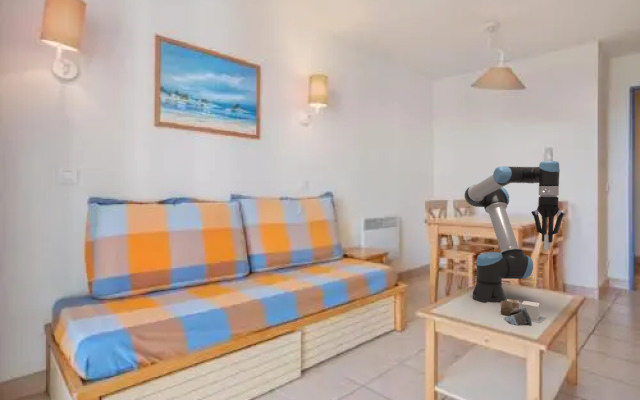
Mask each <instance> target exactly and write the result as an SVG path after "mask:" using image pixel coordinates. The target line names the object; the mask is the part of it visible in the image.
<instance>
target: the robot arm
mask: <svg viewBox="0 0 640 400" xmlns="http://www.w3.org/2000/svg"><path fill="white" fill-rule="evenodd" d="M560 171H561V170H560V163H559V161H558V160H543V161H540V162H539V165H538V166H505V165H503V166H497V167H496V168H495V169H494V170H493V174H492V175H490V176H488V177H487V178H485V179H483V180H482V181H480V182H478V183H476V184H472V185H470V186H469V187H468V188H466V189H465V191H464V199H465V201H466V202H467V204H469V206H472V207H477V208H484V212H485V213H487V214H489V219H490V221H491V224H492V228H493V231H494V234H495V236H496V240H497V243H498V247H499V250H500V252H495V251H494V252H493V251H492V252H491V251H490V252H483V253H479V254H478V255H477V258H476V263H475V264H476V282H475V283H476V284H474V285H475V286H474V288H473V290H472V294H471V295H472V299H473V300H475V301H478V302H482V303H493V304H494V303H495V304H497V303H499V304H501V301H506V295H505V293H504V288H503V286H502V284H503V281H502V280H503V279H505V280H506V279H507V280H508V279H509V280H510V279H511V280H513V279H514V280H517V279H518V280H522V279H527V278H530V277H531V276H532V274H533V270H534V263H533V259H532V257H531V256H529V255H527V254H525V253H524V250H523V249H522V248H519V245H518V242H517V240H516V236H515V233H514V231H513V227H512V224H511V222H510V218H509V215H508V213H507V212H508V211H507V208H508V205H509V203H510V194H509V192H508V191H507V189H506V188H504V187H505V186H507V185H509V184H538V196H539V197H538V204H537V205H538V206H537V208H536V209H535V210H533V211H531V215H532V216H533V219H534V222H535V227H536V231H537V233H538V234H541V241H542V243H543V250H547V251H548V250H550V249H551V243H553V241H554V240H553V235H556V234H558V233H559V230H560V228H561V224H562V221H563V218H564V217H565V215H566V213H565V212H563V211H561V210H560V208H559V198H560V197H558V196H559V195H560V193H559V191H560V190H559V187H560V186H559V185H560ZM539 214H540V216H541V220H540V217H539ZM556 215H557V218H556V221H555V224H554V220H555V216H556ZM547 231H548V232H547Z"/></svg>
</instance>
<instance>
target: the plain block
mask: <svg viewBox="0 0 640 400" xmlns="http://www.w3.org/2000/svg"><path fill="white" fill-rule="evenodd" d="M540 304H541V303H540V302H536V301H535V302H533V301H528V300H523V301H522V303H521V309H522V308H526V311H527V313H528V314H529V316H530V318H531V320H536V321H538V319H539V316H540V310H541V309H540Z"/></svg>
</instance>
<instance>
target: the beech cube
mask: <svg viewBox="0 0 640 400" xmlns="http://www.w3.org/2000/svg"><path fill="white" fill-rule="evenodd" d="M506 301H509V302H512V311H514V310H518V309H520V300H517V299H509V298H507V299H506Z"/></svg>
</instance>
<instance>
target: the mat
mask: <svg viewBox="0 0 640 400" xmlns="http://www.w3.org/2000/svg"><path fill="white" fill-rule="evenodd" d="M546 319H547V317H546V316H541V315H539V319H538V321H536V320H531V322H533V323H538V324H541V323H542V322H543V321H545V320H546Z"/></svg>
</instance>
